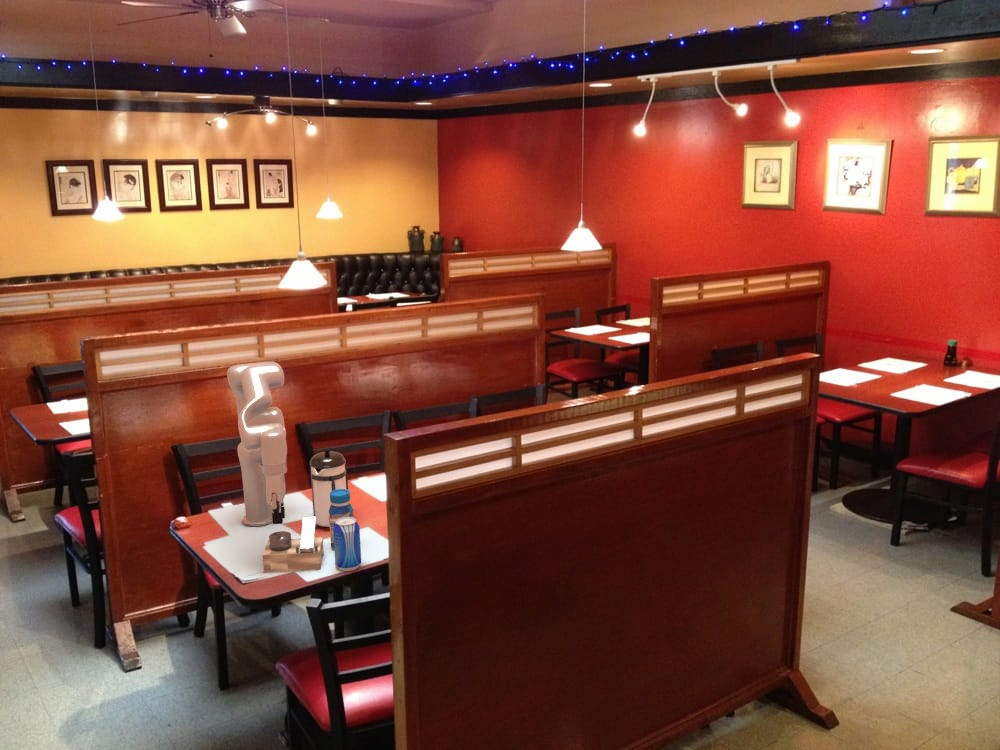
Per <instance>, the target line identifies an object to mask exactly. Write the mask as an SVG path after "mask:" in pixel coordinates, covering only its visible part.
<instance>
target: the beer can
mask: <svg viewBox="0 0 1000 750" xmlns="http://www.w3.org/2000/svg"><path fill="white" fill-rule="evenodd" d="M360 530H361V529H360V524H359V523H358V522H357V518H355V517H354V518H353V517H343V518H339V519H337V520H336V524H335V525H334V527H333V536H334V549H333V550H334V564H335V567H337V570H339V571H341V572H351V571H355V570H357V569H358V568H359V567H360V565H361V564H362V551H361V549H362V548H361V532H360Z"/></svg>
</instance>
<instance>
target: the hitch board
mask: <svg viewBox="0 0 1000 750" xmlns="http://www.w3.org/2000/svg"><path fill="white" fill-rule="evenodd" d="M291 542H292V547H291V548H290V549H288V550H285V551H272V550H270V543H269V539H268V540H267V543H266V545H265V548H264V550H263V553H262V565H263V566H262V568H263V574H264V573H265V574H266V573H278V572H279V573H281V572H283V573H284V572H298V571H300V572H301V571H317V570H320V571H321V567H322V563H323V560H324V555H325V553H324V552H325V550H324V536H323V537H322V536H321V537H314V547H313V552H304V553H300V547H301V537H300V538H291Z"/></svg>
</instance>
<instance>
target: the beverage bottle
mask: <svg viewBox="0 0 1000 750" xmlns="http://www.w3.org/2000/svg"><path fill="white" fill-rule="evenodd" d="M330 501H331V503H332V504H331V506H330V508H329V514H330V516H329V523H330V527H329V535H330V537H329V538H330V547H331V549H332V550H334V536H333V527H334V525H335V524H336V520H337V519H339V518H343V517H353V518H355V515H354V513H353V512H354V508H353V505H352V504H351V503H350V501H351V492H350V490H349V489H348V490H347V489H336V490H333V491H331V492H330Z"/></svg>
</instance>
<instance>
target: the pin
mask: <svg viewBox="0 0 1000 750" xmlns="http://www.w3.org/2000/svg"><path fill="white" fill-rule="evenodd" d="M291 539H292V533H291V532H289V531H286V530H280V531H275V532H272V533H271V534H269V536H268V540H269V543H270V550H272V551H285V550H288V549H290V548H291V547H292V542H291Z"/></svg>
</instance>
